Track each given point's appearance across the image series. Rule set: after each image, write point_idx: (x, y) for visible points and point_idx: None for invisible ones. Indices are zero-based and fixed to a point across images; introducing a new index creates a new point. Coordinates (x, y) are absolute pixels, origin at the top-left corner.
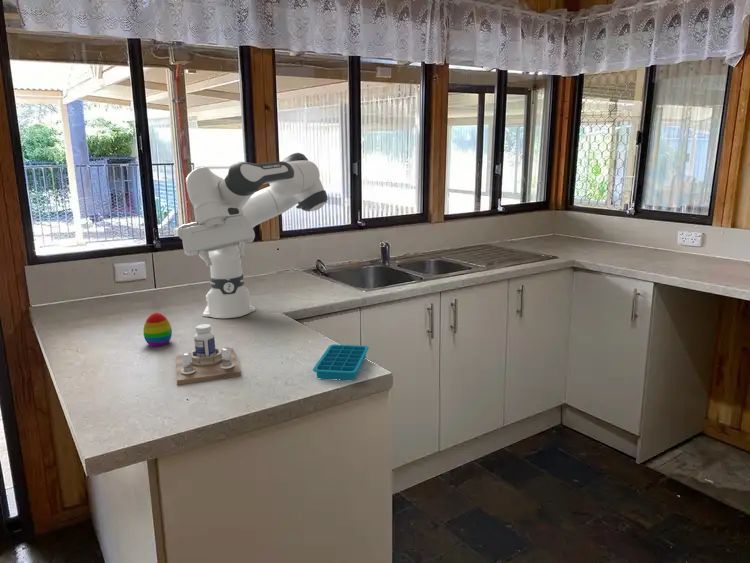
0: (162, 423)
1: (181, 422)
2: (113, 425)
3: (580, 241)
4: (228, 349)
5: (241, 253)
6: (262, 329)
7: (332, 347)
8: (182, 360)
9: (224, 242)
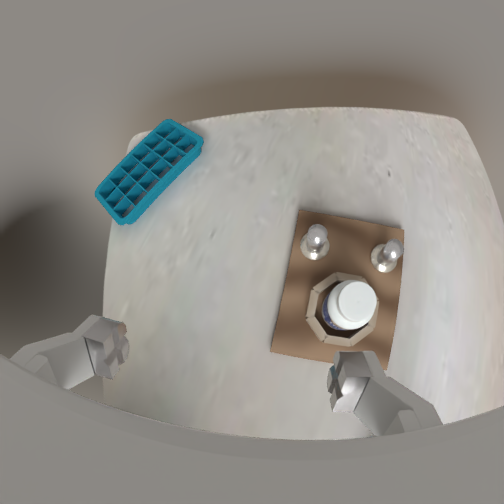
0: (413, 134)
1: (394, 125)
2: (459, 160)
3: None
4: (312, 228)
5: (99, 326)
6: None
7: (125, 218)
8: (383, 328)
9: (151, 426)
